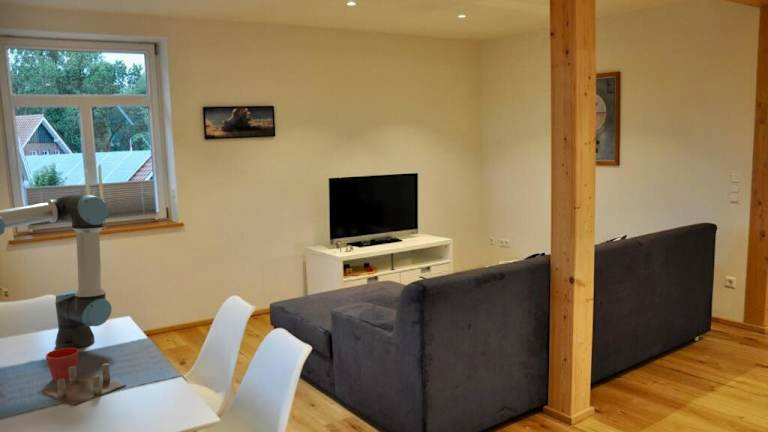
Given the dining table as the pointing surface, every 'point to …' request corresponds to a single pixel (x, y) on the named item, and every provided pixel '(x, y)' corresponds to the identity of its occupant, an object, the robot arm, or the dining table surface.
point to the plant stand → (84, 387)
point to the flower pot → (62, 362)
